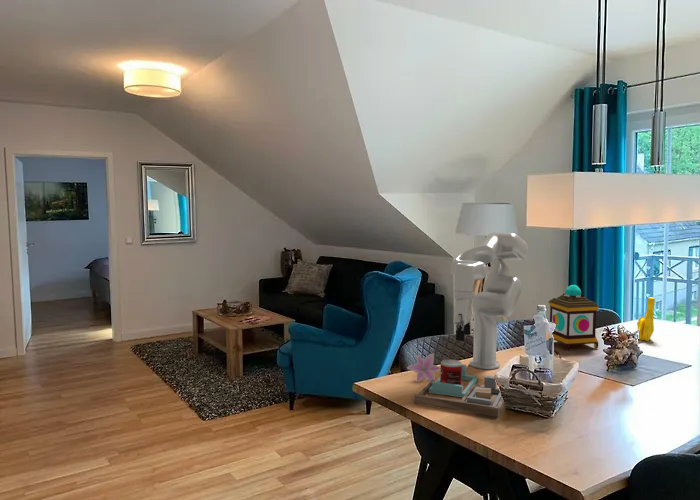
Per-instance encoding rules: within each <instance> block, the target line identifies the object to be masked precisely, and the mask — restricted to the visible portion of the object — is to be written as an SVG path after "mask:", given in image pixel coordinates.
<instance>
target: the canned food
mask: <svg viewBox="0 0 700 500" xmlns="http://www.w3.org/2000/svg"><path fill="white" fill-rule="evenodd" d="M462 364H463V363H462V362H461V361H460V360H458V359H443V360H441V361H440V368H441V369H440V370H439V371H440V373H439V374H440V376H439V377H440V382H442V383H450V384H457V385H463V384H462V380H463V379H462Z"/></svg>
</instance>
